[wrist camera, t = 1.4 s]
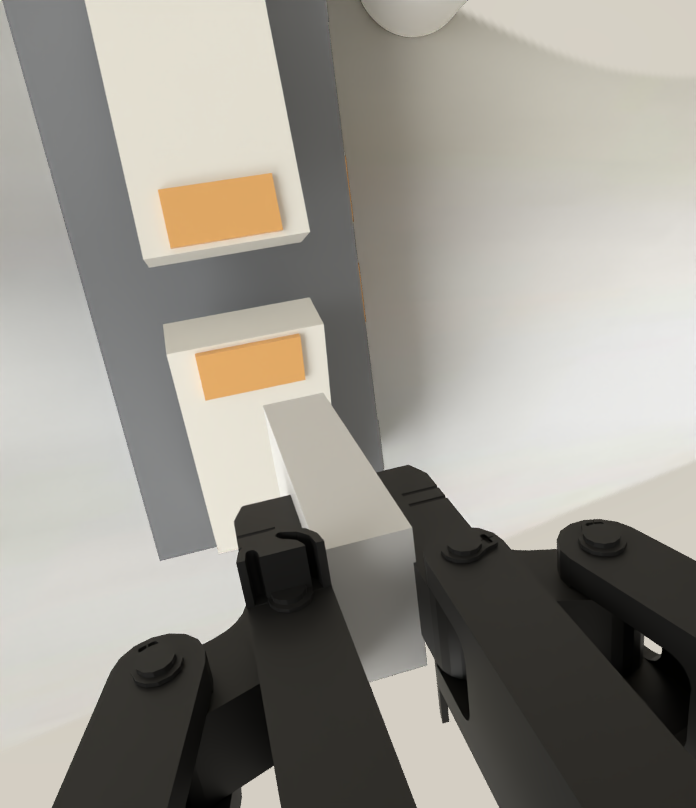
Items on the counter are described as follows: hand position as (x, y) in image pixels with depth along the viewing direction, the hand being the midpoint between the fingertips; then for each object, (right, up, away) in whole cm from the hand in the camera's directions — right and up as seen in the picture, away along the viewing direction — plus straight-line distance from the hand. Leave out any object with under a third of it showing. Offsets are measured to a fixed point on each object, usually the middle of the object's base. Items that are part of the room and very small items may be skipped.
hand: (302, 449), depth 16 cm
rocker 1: (-5, +12, +9) cm, 16 cm away
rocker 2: (-3, +1, +14) cm, 14 cm away
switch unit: (-6, +9, +18) cm, 21 cm away
